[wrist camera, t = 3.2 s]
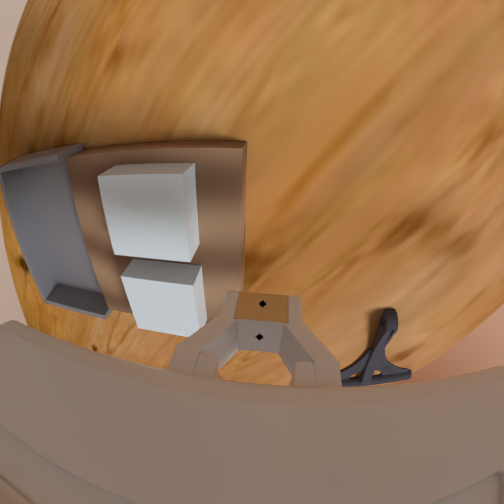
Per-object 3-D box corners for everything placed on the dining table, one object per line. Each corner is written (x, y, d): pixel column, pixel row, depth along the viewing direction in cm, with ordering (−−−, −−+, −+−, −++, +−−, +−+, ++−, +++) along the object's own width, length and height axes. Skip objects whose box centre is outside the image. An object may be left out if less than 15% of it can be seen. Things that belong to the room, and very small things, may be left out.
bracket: (442, 298, 24) (451, 315, 22) (406, 372, 32) (410, 387, 30) (321, 307, 27) (323, 328, 24) (312, 381, 34) (312, 398, 32)
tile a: (116, 164, 17) (97, 176, 15) (194, 162, 16) (182, 173, 14) (128, 237, 20) (114, 254, 18) (199, 243, 20) (190, 262, 18)
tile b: (133, 258, 21) (120, 276, 19) (201, 265, 21) (193, 285, 19) (147, 309, 25) (138, 327, 23) (207, 318, 24) (201, 338, 22)
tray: (19, 156, 19) (-3, 167, 16) (83, 142, 18) (57, 154, 15) (59, 285, 28) (44, 302, 26) (119, 297, 28) (106, 319, 25)
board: (84, 149, 19) (66, 157, 17) (247, 141, 18) (242, 148, 16) (118, 293, 28) (108, 308, 25) (243, 310, 27) (239, 329, 25)
